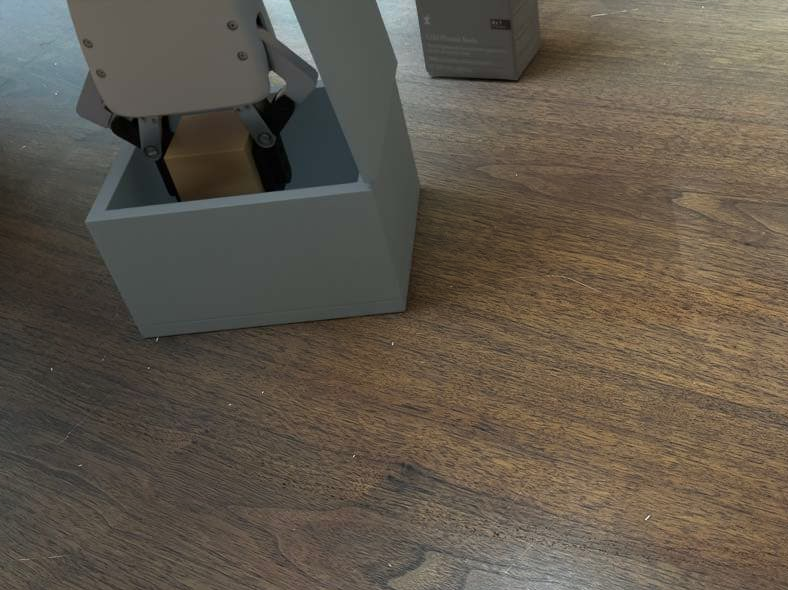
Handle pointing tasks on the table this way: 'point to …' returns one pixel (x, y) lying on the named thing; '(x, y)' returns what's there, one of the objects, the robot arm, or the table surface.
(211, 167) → the block
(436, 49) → the cosmetic box
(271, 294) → the compartment
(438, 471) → the table surface
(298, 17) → the lid
